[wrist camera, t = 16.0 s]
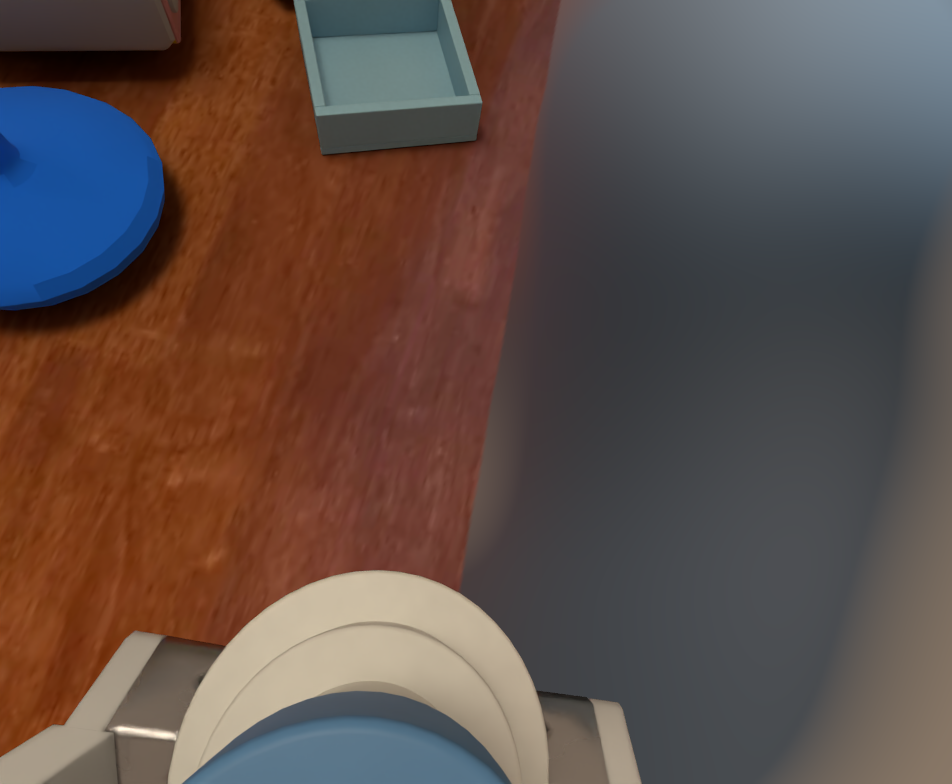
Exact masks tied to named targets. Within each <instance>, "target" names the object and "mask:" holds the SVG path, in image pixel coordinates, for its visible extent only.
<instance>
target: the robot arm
mask: <svg viewBox="0 0 952 784" xmlns="http://www.w3.org/2000/svg"><path fill="white" fill-rule="evenodd" d="M225 647H226V646H223V645H217V644H211V643H206V642H200V641H194V640H189V639H183V638H177V637H172V636H165V635H159V634H153V633H147V632H140V631H134V632H133V633H132V634H131V635H130V636H128V637H127V638H126V639H125V640H124V641H123V643H122V644H121V646H120V647H119V648H118V650H117V651H116V653H115V654H114V655H113V657H112V658H111V660H110V661H109V662H108V664H107V665H106V667H105V668H104V670H103V671H102V672H101V674H100V675H99V677H98V678H97V679H96V681H95V682H94V684H93V685H92V686H91V688H90V689H89V691H88V692H87V693H86V695H85V696H84V698H83V699H82V701H81V702H80V703H79V705H78V706H77V708H76V709H75V710H74V712H73V713H72V715H71V716H70V717H69V719H68V720H67V722H66V723H65V725H54V724H53V725H52V726H50V727H48V728H47V729H45V730H44V731H42V732H40V733H39V734H37V735H36V736H34V737H32V738H31V739H29V740H27V741H26V742H24V743H23V744H21V745H19V746H18V747H16V748H15V749H13V750H11V751H10V752H8V753H7V754H5V755H3V756H2V757H0V784H168V775H169V770H170V765H171V760H172V756H173V751H174V746H175V743H176V740H177V737H178V734H179V731H180V728H181V725H182V722H183V719H184V716H185V714H186V712H187V710H188V707H189V705H190V703H191V701H192V699H193V697H194V694H195V692H196V690H197V688H198V687H199V685H200V683H201V682H202V680H203V678H204V677H205V675H206V674H207V672H208V670H209V669H210V667H211V665H212V664H213V663H214V661H215V660H216V659H217V658H218V656H219V655H220V654H221V652H222V651H223V650H224V648H225ZM536 693H537V696H538V699H539V702H540V704H541V708H542V713H543V718H544V722H545V727H546V732H547V743H548V753H549V784H642V783H641V779H640V776H639V771H638V767H637V764H636V760H635V756H634V752H633V749H632V744H631V740H630V737H629V732H628V729H627V725H626V721H625V717H624V713H623V709H622V708H621V706H620V705H619V703H617V702H611V701H603V700H597V699H588V698H587V697H580V696H573V695H565V694H558V693H550V692H543V691H536Z"/></svg>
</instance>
